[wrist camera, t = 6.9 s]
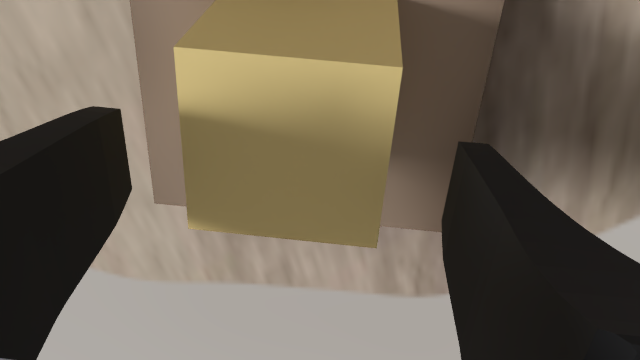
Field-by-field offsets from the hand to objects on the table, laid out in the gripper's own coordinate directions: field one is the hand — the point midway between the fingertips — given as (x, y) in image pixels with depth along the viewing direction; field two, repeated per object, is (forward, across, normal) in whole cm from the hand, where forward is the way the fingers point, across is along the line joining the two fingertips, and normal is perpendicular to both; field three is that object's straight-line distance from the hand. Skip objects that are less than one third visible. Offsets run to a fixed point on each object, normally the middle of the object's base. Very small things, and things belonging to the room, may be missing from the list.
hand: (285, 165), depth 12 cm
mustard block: (+5, 0, 0) cm, 5 cm away
